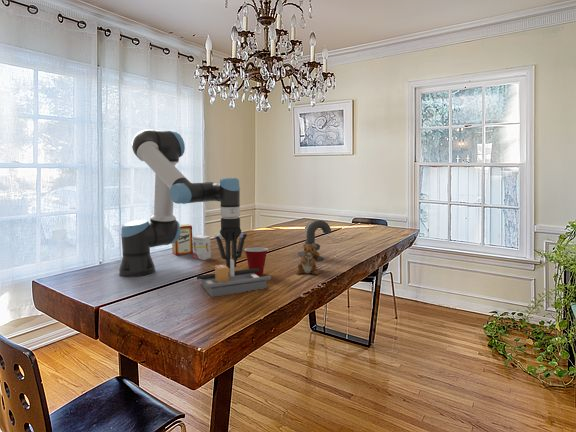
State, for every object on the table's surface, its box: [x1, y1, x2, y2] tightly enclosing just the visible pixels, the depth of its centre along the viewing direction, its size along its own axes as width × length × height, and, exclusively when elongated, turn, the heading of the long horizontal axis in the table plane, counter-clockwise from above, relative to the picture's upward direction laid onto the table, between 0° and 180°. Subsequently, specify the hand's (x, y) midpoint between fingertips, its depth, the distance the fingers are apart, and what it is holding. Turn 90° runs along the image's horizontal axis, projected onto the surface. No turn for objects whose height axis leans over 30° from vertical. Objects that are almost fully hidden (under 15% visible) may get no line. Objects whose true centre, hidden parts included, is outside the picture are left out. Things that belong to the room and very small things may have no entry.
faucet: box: [297, 219, 332, 262], centre depth 202 cm, size 18×16×20 cm
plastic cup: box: [243, 247, 269, 277], centre depth 170 cm, size 11×11×12 cm
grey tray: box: [196, 268, 272, 290], centre depth 152 cm, size 27×15×2 cm, turn 116°
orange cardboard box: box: [171, 224, 193, 257], centre depth 211 cm, size 10×6×16 cm
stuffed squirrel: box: [295, 243, 321, 275], centre depth 175 cm, size 10×14×13 cm
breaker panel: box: [200, 273, 267, 298], centre depth 153 cm, size 22×16×3 cm
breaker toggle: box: [214, 263, 229, 283], centre depth 150 cm, size 4×5×6 cm
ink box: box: [192, 234, 212, 261], centre depth 200 cm, size 9×5×12 cm, turn 56°
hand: (231, 275), depth 152 cm, fingers closed
